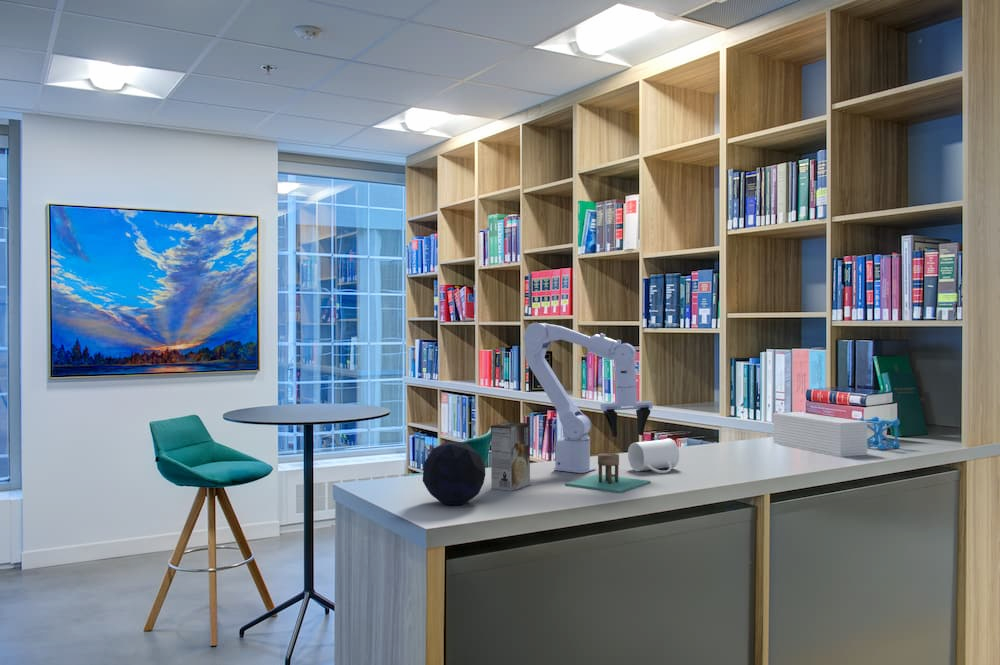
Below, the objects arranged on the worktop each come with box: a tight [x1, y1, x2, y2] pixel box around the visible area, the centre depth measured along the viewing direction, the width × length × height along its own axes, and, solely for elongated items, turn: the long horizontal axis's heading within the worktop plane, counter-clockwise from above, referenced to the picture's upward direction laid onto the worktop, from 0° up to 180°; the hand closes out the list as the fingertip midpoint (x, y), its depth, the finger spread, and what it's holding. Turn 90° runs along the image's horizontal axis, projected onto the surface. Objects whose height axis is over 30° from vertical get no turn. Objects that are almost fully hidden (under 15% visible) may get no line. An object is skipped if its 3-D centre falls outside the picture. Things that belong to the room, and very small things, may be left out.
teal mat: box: [564, 473, 651, 494], centre depth 204 cm, size 16×16×1 cm
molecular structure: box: [856, 415, 901, 451], centre depth 265 cm, size 10×10×10 cm
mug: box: [627, 437, 680, 474], centre depth 224 cm, size 12×8×12 cm
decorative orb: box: [422, 441, 486, 506], centre depth 182 cm, size 14×15×15 cm
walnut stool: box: [597, 452, 620, 484], centre depth 204 cm, size 5×5×7 cm
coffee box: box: [490, 421, 531, 492], centre depth 201 cm, size 9×6×16 cm
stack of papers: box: [772, 411, 868, 458], centre depth 264 cm, size 32×11×11 cm, turn 19°
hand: (627, 435), depth 219 cm, fingers open, 7 cm apart
